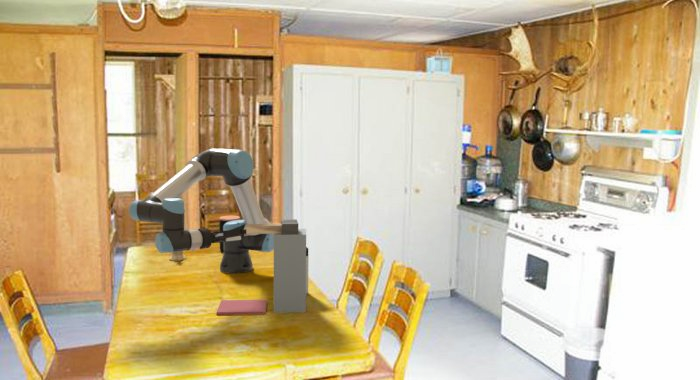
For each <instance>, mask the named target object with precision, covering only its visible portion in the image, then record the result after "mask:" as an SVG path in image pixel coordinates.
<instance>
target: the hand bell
mask: <svg viewBox="0 0 700 380" xmlns="http://www.w3.org/2000/svg"><path fill="white" fill-rule="evenodd" d="M183 252H184V251H179V252H173V253H171V255H170V257H169V258H168V259H169V261H174V262H176V261H177V262H178V261H184V260H187V257H186V255H185V254H184V253H183Z"/></svg>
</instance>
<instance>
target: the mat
mask: <svg viewBox="0 0 700 380" xmlns="http://www.w3.org/2000/svg"><path fill="white" fill-rule="evenodd" d="M267 307H268V299H228V300H226V299H225V300H224V299H221V300H220V303H219V304H218V308H217V310H216V313H215V314H216V316H225V315H226V316H230V315H231V316H233V315H235V316H237V315H240V316H241V315H242V316H243V315H266V314H267Z"/></svg>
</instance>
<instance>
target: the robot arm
mask: <svg viewBox="0 0 700 380" xmlns="http://www.w3.org/2000/svg"><path fill="white" fill-rule="evenodd" d="M253 172H254V160H253V158H252V156H251V154H250V153H249V152H248V151H246V150H243V149H239V148H231V149H230V148H219V147H217V148H215V147H213V148H209V149H206V150H204V151H202V152H199V153H197V154H196V155H194V156H193V157H192V158H191V159H189V160H187V162H186V164H185V166H184V167H183V168H182V169H181V170H179V171H178V172H177V173H175V174H174V175H173V176H172V177H170V179H168V180H167V181H166V182H165V183H163V184H162V185H160V186H159V187H158V188H157V189H156V190H155V191H154V192H152V193H151V194H150V195H148V196H147V197H145V198H144V199H143V200H141V199H138V200H134V201H132V202H131V204H130V205H129V206H128V207H129V208H128V214H129V216H130V217H131V219H133V220H135V221H138V222H139V221H140V222H146V223H154V224H162V231H161V232H158V233H156V235H155V240H154V242H155V244H154V245H155V248H156V250H157V252H158V253H161V254H167V253H171V254H172V253H173V252H179V251H183V252H184V251H191V252H194V251H196V250H199V249H200V250H205V249H209V248H210V247H211V246H212V244H217V243H219V244H220V243H221V242H223V245H224V252H223V255H222V257H221V262H220V264H219V270H220V272H221V273H226V274H235V275H236V274H244V273H248V272H250V271H252V270H253V269H254V267H253V265H254V263H253V261H252V257H251V255H250V251H255V252H261V253H270V252H272V251H274V234H246V224H270V222H269V221H270V220H269V219H267V218H265V217H264V215H263V212H262V209H261V207H260V204H259V201H258V198H257V195H256V192H255V191H254V187H253V184H252V183H251V180H250V179H251V178H252V175H253ZM208 177H221V178H222V179H223V182H224V183H225V185H226V186H228V187H230V189H231V191H232V194H233V196H234V199H235V201H236V204H237V206H238V208H239V211H240V213H241V217H242V219H239V220H235V221H230V222H227V223H225V224H224V226H223V231H213V232H211V230H210V228H206V227H205V228H193V229H192V228H191V229H185V212H186V211H185V210H186V209H185V201H184V200H183V199H182V198H180V197H181V196H182V195H183V194H184V193H185V192H187V190H189V189H190V188H191V187H192V186H194V185H195V184H196V183H197V182H200V181H203V180H204V179H206V178H208Z"/></svg>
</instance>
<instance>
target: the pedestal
mask: <svg viewBox="0 0 700 380" xmlns="http://www.w3.org/2000/svg"><path fill="white" fill-rule="evenodd" d="M306 247H307V229H306V228H298V234H292V235H282V233H275V234H274V249H273V313H279V314H280V313H306V311H307V306H306V305H307V304H306V300H307V298H306V297H307V295H306Z"/></svg>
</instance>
